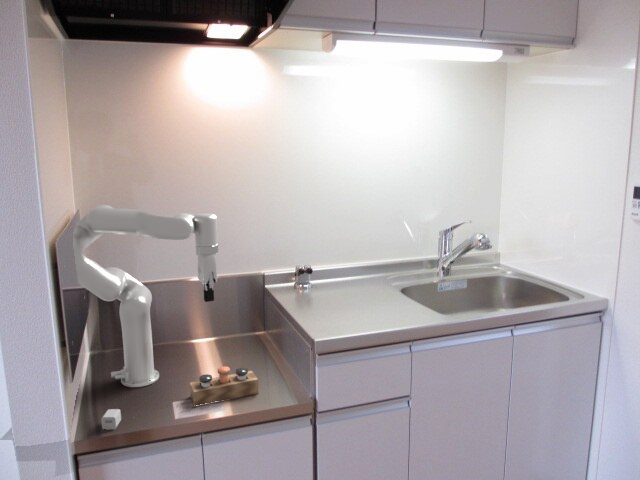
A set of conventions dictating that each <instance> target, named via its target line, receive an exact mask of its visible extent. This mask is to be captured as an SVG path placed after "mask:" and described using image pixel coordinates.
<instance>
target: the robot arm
mask: <svg viewBox="0 0 640 480" xmlns="http://www.w3.org/2000/svg"><path fill="white" fill-rule="evenodd" d="M75 223H76V227H75V229H74V232H73V249H74V256H75V264H76V271H77V278H78V282H79V283H78V282H77V283H78V284H79V285H80V286H82V287H83V288H85V289H86V290H87V291H89V292H90V293H92V295H94V296H96V297H97V298H99V299H100V300H102V301H105V302H113V301H115V300H118V301H119V302H120V304H119V319H120V326H121V333H122V334H121V335H122V345H123V346H122V347H123V361H124V365H123V368H122V369H120V370H118V371H111V372H110V375H111V376H110V377H111V378H112V379H113V378H115V380H120V383H121V384H122V385H123V386H125V387H128V388H142V387H146V386H149V385H152V384H154V383H156V382H157V381H158V380H159V378H160V372H159V371H158V370H156V368H155V363H154V349H153V348H154V346H153V331H152V322H151V306H152V305H151V304H152V302H153V295H152V292H151V290H150V289H149V288H148V287H147V286H145V284H143V283H142V282H140V281H139V280H138V279H136V278H135V277H133V276H132V275H131V274H129V273H128V272H127V271H125V270H123V269H121V268H119V267H114V266H111V267H110V266H109V267H106V268H104V267H103V266H101V265H100V264H99V263H97V262H96V261H94V260H93V259H91V258H88V257H87V256H86V255H85V254H84V251H85V250H86V249H87V248H88V247H89V246H90V245H91V244H93V243H94V242H95V241H97V240H98V239H100V238H101V237H102V236H103V235H105V234H106V235H120V236H121V235H122V236H125V235H126V236H139V237H143V238H144V237H145V238H152V239H156V240H157V239H158V240H170V241H171V240H172V241H174V240H175V241H183V240H187V239H189V238H190V237H191V236H192V235H193V234H195V235H194V236H195V255H196V256H197V278H198V280H199V281H200V283H201V284H202V285H203V301H204V302H205V303H209V302H214V301H215V292H214V291H215V290H214V289H215V288H214V285H215V284H216V283H217V282H218V267H217V266H218V265H217V255H218V254H219V237H218V232H219V231H218V217H217V215H216V214H214V213H206V212H205V213H204V212H203V213H198V214H197V213H190V212H189V213H187V212H181V213H177V214H175V216H163V215H155V214H151V213H148V212H146V211H144V210H141V209H133V208H132V209H131V208H117V207H116V208H115V207H113V206H111V205H109V204H99V205H97V206H95V207H94V208H92V209H90V210H89V212H88V213H87V214H86V215H84V216H83V217H82V218H80V219H79V220H78V221H76V222H75Z"/></svg>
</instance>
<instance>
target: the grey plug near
mask: <svg viewBox="0 0 640 480" xmlns="http://www.w3.org/2000/svg"><path fill="white" fill-rule="evenodd" d="M198 378H199V379H198V381H200V382H201V388H205V387H210V386H211V380H212V378H213V375H211V374H202V375H200V376H199V377H198Z"/></svg>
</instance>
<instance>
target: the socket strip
mask: <svg viewBox="0 0 640 480" xmlns="http://www.w3.org/2000/svg"><path fill="white" fill-rule="evenodd" d="M246 378H247V379H245V380H240V381H238V380H237V374H236V373H232V374H229V383H225V384H220V380H219V376H216V377H212V380H211V386H210V387H205V388H201V382H200V381H199V380H196V381H192V382H191V381H190V382H189V395H190V399H191V401H193V402H192V404H193V403H194V404H193V406H194V405H195V406H196V405H200V404H205V403H210V404H212V403H211V402H215V401H220V402H223V401H222V400H224V401H229V400H233V399H232V398H234V399H238V398H243V397H246V396H251V395H257V394H259V379H258V377H257V376H256V374H255V373H254V372H253V370H248V373H247V374H246ZM237 397H238V398H237ZM228 399H229V400H228ZM215 403H216V402H215ZM195 406H194V407H195ZM196 407H197V406H196Z"/></svg>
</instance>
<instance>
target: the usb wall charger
mask: <svg viewBox="0 0 640 480" xmlns="http://www.w3.org/2000/svg"><path fill="white" fill-rule="evenodd" d="M121 420H122V413H121V409H119V408H111V409H110V408H108V409H107V410H106V412H105V413H104V414H103V416H102V417H101V428H102V430H104V429H106V430H116V429H117V428H118V426H119V424H120V423H121Z"/></svg>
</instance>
